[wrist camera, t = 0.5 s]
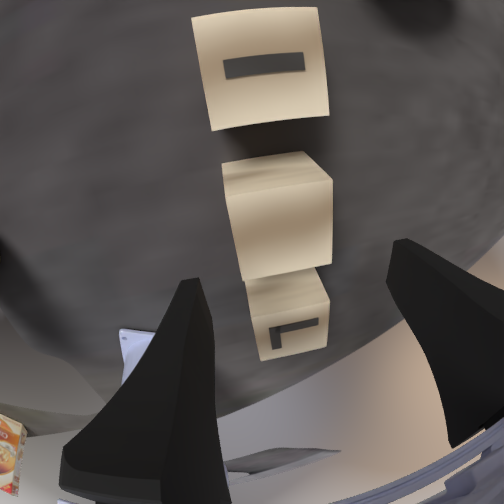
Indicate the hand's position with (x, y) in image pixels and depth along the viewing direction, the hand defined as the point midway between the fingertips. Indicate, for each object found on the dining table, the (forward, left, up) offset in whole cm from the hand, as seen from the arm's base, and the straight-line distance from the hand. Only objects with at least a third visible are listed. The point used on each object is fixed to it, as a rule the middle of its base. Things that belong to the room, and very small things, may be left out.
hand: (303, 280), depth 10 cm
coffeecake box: (-60, +48, -10) cm, 77 cm away
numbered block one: (+7, +2, -10) cm, 12 cm away
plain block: (-1, -1, -10) cm, 10 cm away
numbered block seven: (-8, -3, -10) cm, 13 cm away
